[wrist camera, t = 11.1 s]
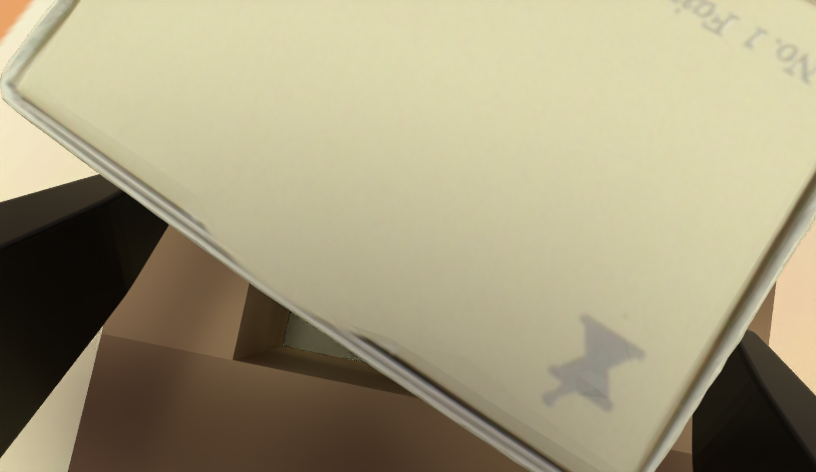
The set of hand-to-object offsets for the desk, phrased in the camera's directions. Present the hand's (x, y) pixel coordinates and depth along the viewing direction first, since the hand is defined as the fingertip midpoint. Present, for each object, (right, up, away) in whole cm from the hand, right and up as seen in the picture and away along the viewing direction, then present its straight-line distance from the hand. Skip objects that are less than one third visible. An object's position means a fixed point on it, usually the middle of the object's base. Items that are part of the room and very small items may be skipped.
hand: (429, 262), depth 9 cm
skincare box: (+1, 0, +8) cm, 8 cm away
